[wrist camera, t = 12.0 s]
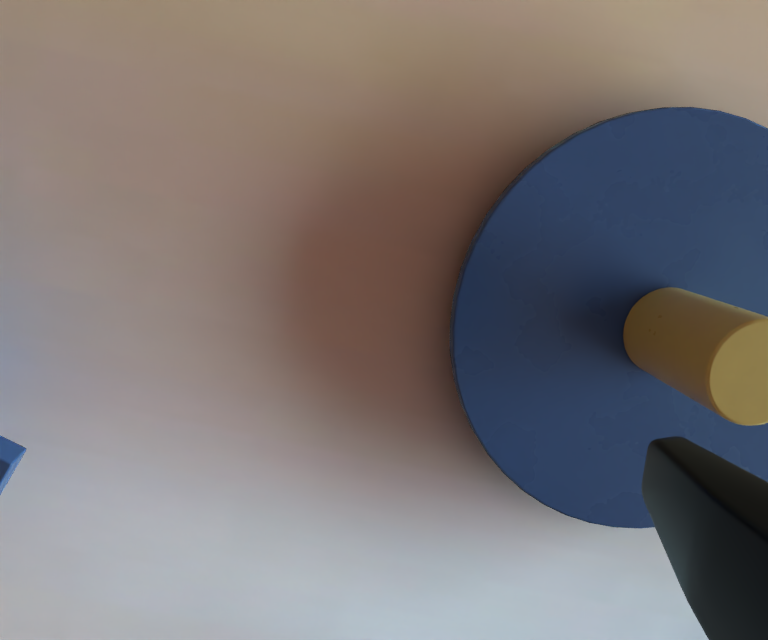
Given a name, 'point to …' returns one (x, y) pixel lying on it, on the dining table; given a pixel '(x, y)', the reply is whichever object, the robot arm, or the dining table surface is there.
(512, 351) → the pot lid
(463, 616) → the dining table surface
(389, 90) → the dining table surface
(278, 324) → the dining table surface
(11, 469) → the pot
